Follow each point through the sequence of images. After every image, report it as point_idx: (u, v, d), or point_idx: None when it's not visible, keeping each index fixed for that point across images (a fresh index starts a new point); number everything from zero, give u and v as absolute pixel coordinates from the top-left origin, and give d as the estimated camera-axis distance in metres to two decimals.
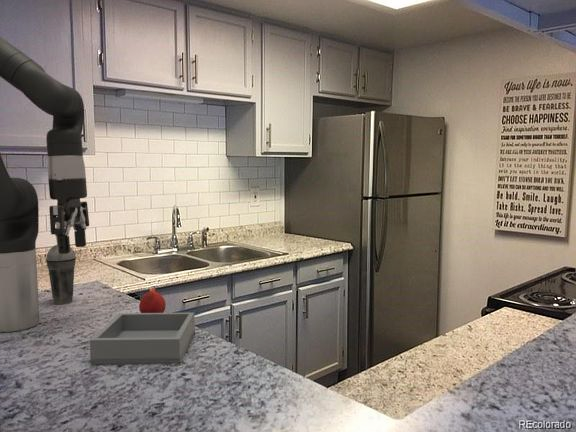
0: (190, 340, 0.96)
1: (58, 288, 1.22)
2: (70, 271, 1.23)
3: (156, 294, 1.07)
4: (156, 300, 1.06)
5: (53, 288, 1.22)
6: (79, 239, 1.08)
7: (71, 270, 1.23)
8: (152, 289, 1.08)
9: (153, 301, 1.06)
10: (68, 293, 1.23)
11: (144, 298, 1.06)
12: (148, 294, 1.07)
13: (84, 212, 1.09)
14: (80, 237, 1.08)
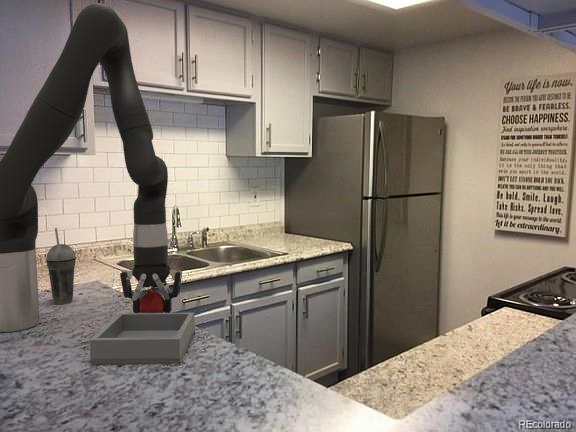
0: (190, 340, 0.96)
1: (58, 288, 1.22)
2: (70, 271, 1.23)
3: (156, 294, 1.07)
4: (156, 300, 1.06)
5: (53, 288, 1.22)
6: None
7: (71, 270, 1.23)
8: (152, 289, 1.08)
9: (153, 301, 1.06)
10: (68, 293, 1.23)
11: (144, 298, 1.06)
12: (148, 294, 1.07)
13: (129, 280, 1.08)
14: None
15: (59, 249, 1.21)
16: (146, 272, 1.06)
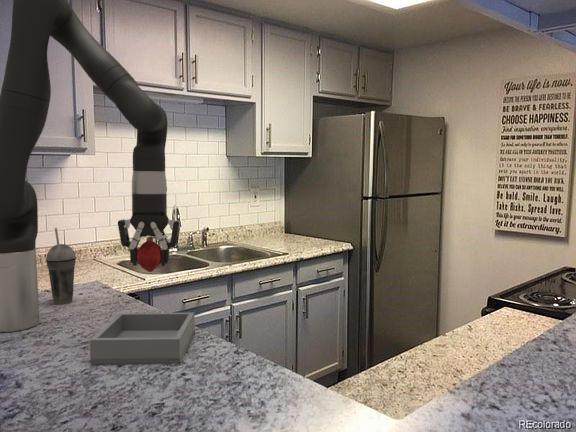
0: (190, 340, 0.96)
1: (58, 288, 1.22)
2: (70, 271, 1.23)
3: (154, 244, 1.06)
4: (153, 249, 1.05)
5: (53, 288, 1.22)
6: None
7: (71, 270, 1.23)
8: (150, 239, 1.06)
9: (150, 250, 1.05)
10: (68, 293, 1.23)
11: (141, 247, 1.05)
12: (146, 243, 1.05)
13: (127, 229, 1.07)
14: None
15: (59, 249, 1.21)
16: (144, 220, 1.05)
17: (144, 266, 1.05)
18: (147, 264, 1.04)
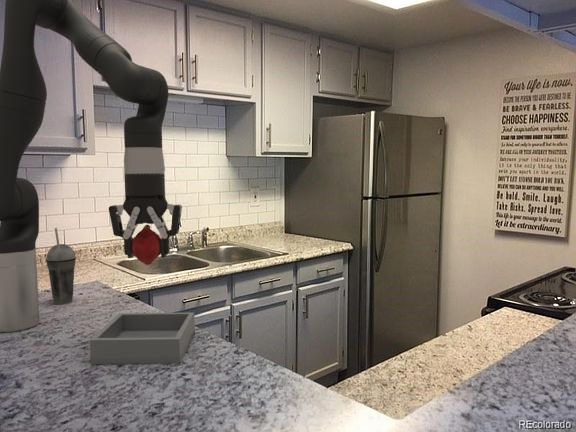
0: (190, 340, 0.96)
1: (58, 288, 1.22)
2: (70, 271, 1.23)
3: (151, 232, 0.92)
4: (151, 238, 0.91)
5: (53, 288, 1.22)
6: None
7: (71, 270, 1.23)
8: (146, 226, 0.92)
9: (148, 239, 0.90)
10: (68, 293, 1.23)
11: (137, 236, 0.91)
12: (142, 231, 0.91)
13: (120, 217, 0.92)
14: None
15: (59, 249, 1.21)
16: (139, 205, 0.91)
17: (141, 258, 0.91)
18: (144, 256, 0.90)
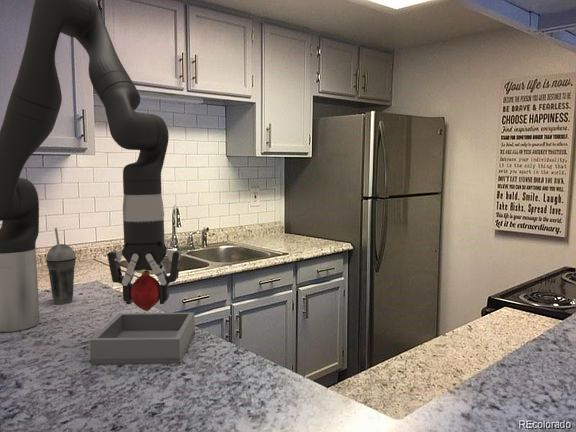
0: (190, 340, 0.96)
1: (58, 288, 1.22)
2: (70, 271, 1.23)
3: (150, 278, 0.91)
4: (150, 285, 0.90)
5: (53, 288, 1.22)
6: None
7: (71, 270, 1.23)
8: (145, 272, 0.91)
9: (147, 287, 0.89)
10: (68, 293, 1.23)
11: (136, 283, 0.90)
12: (141, 278, 0.90)
13: (119, 262, 0.92)
14: None
15: (59, 249, 1.21)
16: (138, 252, 0.90)
17: (139, 305, 0.90)
18: (143, 303, 0.89)
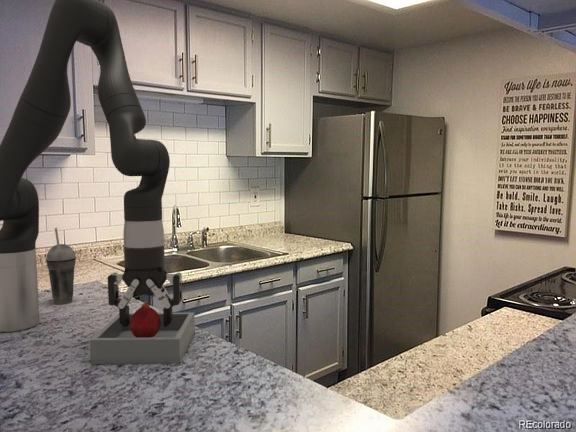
0: (190, 340, 0.96)
1: (58, 288, 1.22)
2: (70, 271, 1.23)
3: (150, 310, 0.91)
4: (149, 317, 0.90)
5: (53, 288, 1.22)
6: (127, 316, 0.92)
7: (71, 270, 1.23)
8: (145, 304, 0.92)
9: (146, 319, 0.90)
10: (68, 293, 1.23)
11: (136, 315, 0.90)
12: (141, 310, 0.91)
13: (117, 285, 0.92)
14: (127, 314, 0.92)
15: (59, 249, 1.21)
16: (139, 278, 0.90)
17: (139, 337, 0.90)
18: (142, 335, 0.90)
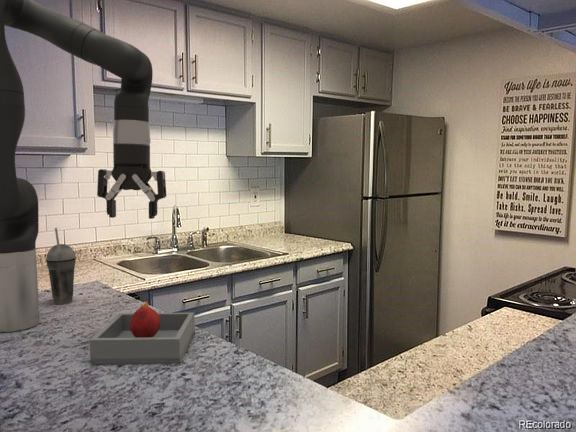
0: (190, 340, 0.96)
1: (58, 288, 1.22)
2: (70, 271, 1.23)
3: (149, 310, 0.91)
4: (149, 317, 0.90)
5: (53, 288, 1.22)
6: (114, 208, 1.02)
7: (71, 270, 1.23)
8: (145, 304, 0.92)
9: (146, 319, 0.90)
10: (68, 293, 1.23)
11: (135, 315, 0.90)
12: (140, 310, 0.91)
13: (107, 181, 1.02)
14: (114, 207, 1.02)
15: (59, 249, 1.21)
16: (126, 174, 1.00)
17: (138, 337, 0.90)
18: (142, 335, 0.90)
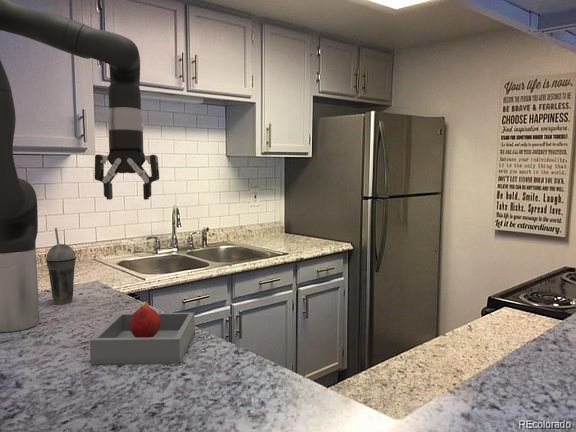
0: (190, 340, 0.96)
1: (58, 288, 1.22)
2: (70, 271, 1.23)
3: (149, 310, 0.91)
4: (149, 317, 0.90)
5: (53, 288, 1.22)
6: (110, 191, 1.09)
7: (71, 270, 1.23)
8: (145, 304, 0.92)
9: (146, 319, 0.90)
10: (68, 293, 1.23)
11: (135, 315, 0.90)
12: (140, 310, 0.91)
13: (103, 165, 1.09)
14: (111, 189, 1.09)
15: (59, 249, 1.21)
16: (122, 158, 1.07)
17: (138, 337, 0.90)
18: (142, 335, 0.90)
